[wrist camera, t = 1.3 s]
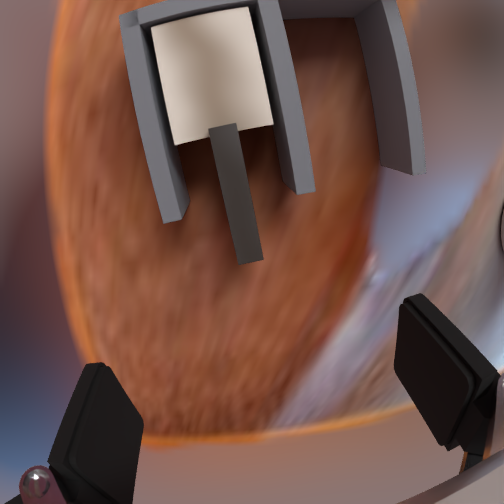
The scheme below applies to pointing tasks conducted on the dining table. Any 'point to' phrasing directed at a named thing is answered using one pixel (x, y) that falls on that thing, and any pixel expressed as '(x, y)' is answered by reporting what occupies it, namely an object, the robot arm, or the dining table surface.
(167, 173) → the lane rack
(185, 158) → the dining table surface
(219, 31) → the cream block
